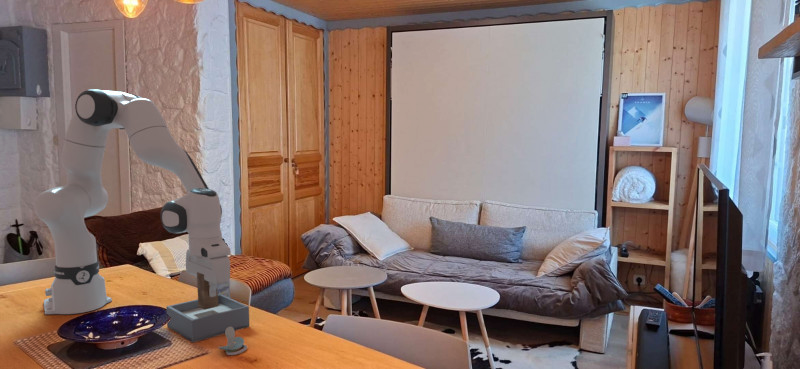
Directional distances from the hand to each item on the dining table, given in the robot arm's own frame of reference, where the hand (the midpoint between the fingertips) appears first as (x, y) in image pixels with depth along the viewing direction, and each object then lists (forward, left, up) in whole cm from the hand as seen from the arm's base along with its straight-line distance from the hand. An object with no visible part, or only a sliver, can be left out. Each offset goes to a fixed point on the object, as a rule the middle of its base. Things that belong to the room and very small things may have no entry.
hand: (207, 294), depth 157 cm
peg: (0, 0, -4) cm, 4 cm away
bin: (0, 0, -10) cm, 10 cm away
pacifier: (+21, -3, -10) cm, 23 cm away
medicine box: (-14, +10, -10) cm, 20 cm away
